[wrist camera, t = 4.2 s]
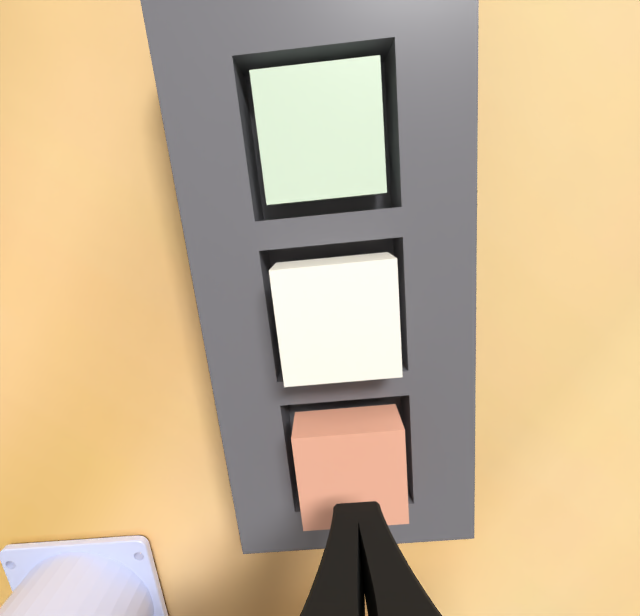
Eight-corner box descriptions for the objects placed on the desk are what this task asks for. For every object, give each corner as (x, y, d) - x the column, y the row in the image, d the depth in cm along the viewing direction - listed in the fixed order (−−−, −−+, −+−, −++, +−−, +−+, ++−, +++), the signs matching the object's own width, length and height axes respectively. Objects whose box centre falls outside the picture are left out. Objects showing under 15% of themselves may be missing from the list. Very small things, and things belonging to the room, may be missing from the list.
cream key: (393, 356, 14) (402, 377, 13) (288, 365, 14) (284, 387, 13) (387, 251, 13) (397, 258, 12) (275, 262, 13) (268, 270, 12)
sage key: (379, 194, 14) (386, 192, 12) (273, 205, 14) (266, 204, 13) (372, 75, 13) (380, 55, 11) (258, 88, 13) (249, 70, 12)
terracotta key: (399, 489, 16) (409, 523, 14) (305, 496, 16) (303, 531, 14) (395, 403, 15) (404, 429, 13) (294, 412, 15) (291, 438, 13)
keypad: (451, 487, 19) (474, 538, 16) (255, 502, 19) (243, 553, 16) (446, 2, 14) (478, -53, 11) (176, 34, 14) (138, -11, 11)
